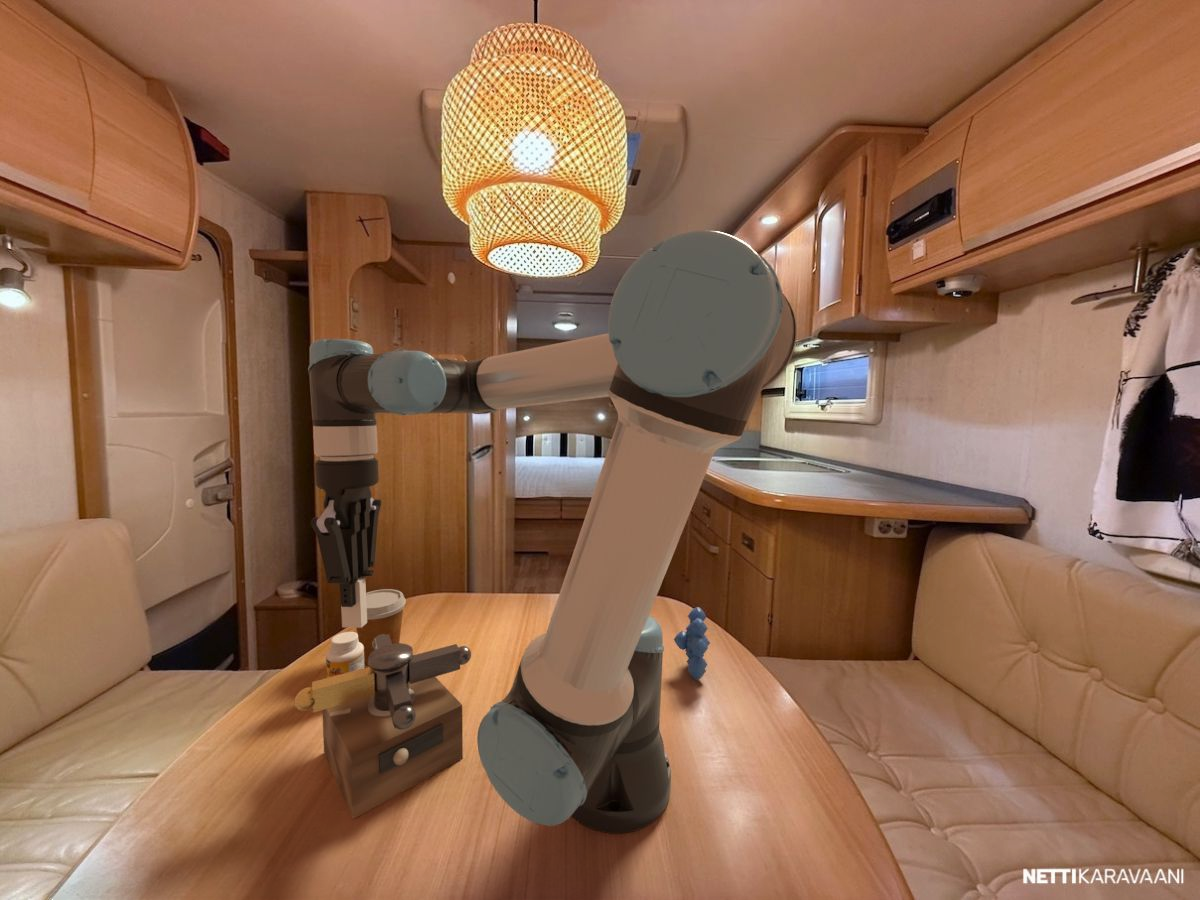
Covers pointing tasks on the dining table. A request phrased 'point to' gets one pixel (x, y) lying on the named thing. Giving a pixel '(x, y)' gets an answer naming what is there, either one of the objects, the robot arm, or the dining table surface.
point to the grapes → (694, 643)
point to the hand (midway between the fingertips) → (354, 624)
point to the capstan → (384, 679)
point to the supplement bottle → (344, 654)
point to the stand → (391, 745)
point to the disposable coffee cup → (381, 618)
